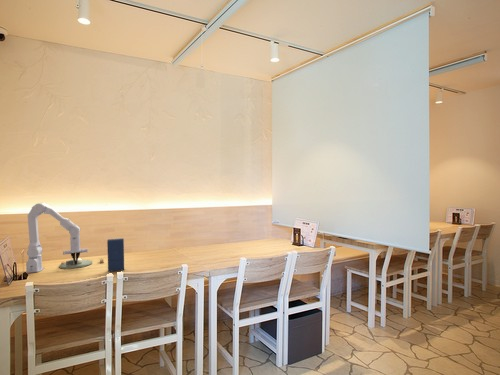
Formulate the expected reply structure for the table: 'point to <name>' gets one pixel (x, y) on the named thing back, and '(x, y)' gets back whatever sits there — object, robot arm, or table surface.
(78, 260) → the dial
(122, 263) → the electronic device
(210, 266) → the table surface
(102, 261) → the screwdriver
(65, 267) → the dial board
